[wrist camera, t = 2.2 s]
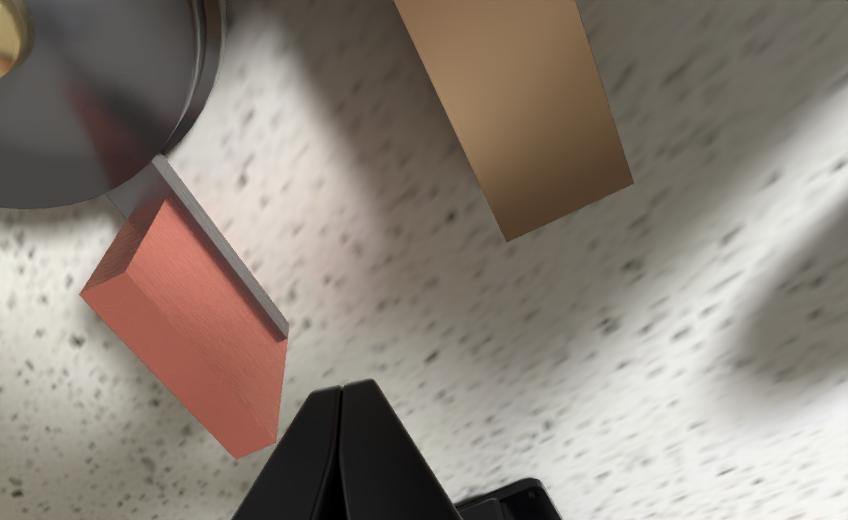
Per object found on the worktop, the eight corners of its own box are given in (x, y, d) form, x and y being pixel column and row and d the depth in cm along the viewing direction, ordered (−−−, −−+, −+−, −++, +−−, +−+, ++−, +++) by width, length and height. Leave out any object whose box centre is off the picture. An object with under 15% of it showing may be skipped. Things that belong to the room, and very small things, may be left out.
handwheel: (394, 279, 21) (408, 383, 16) (158, 389, 22) (113, 514, 17) (30, -323, 13) (-130, -429, 8) (-312, -98, 14) (-608, -89, 9)
